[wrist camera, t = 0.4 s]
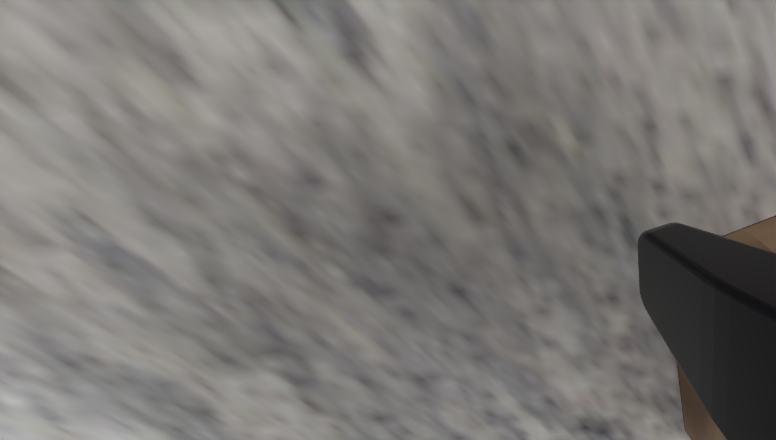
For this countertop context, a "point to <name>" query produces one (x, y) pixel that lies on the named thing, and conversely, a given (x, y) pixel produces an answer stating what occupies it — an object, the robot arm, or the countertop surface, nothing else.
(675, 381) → the countertop surface
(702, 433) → the walnut block
